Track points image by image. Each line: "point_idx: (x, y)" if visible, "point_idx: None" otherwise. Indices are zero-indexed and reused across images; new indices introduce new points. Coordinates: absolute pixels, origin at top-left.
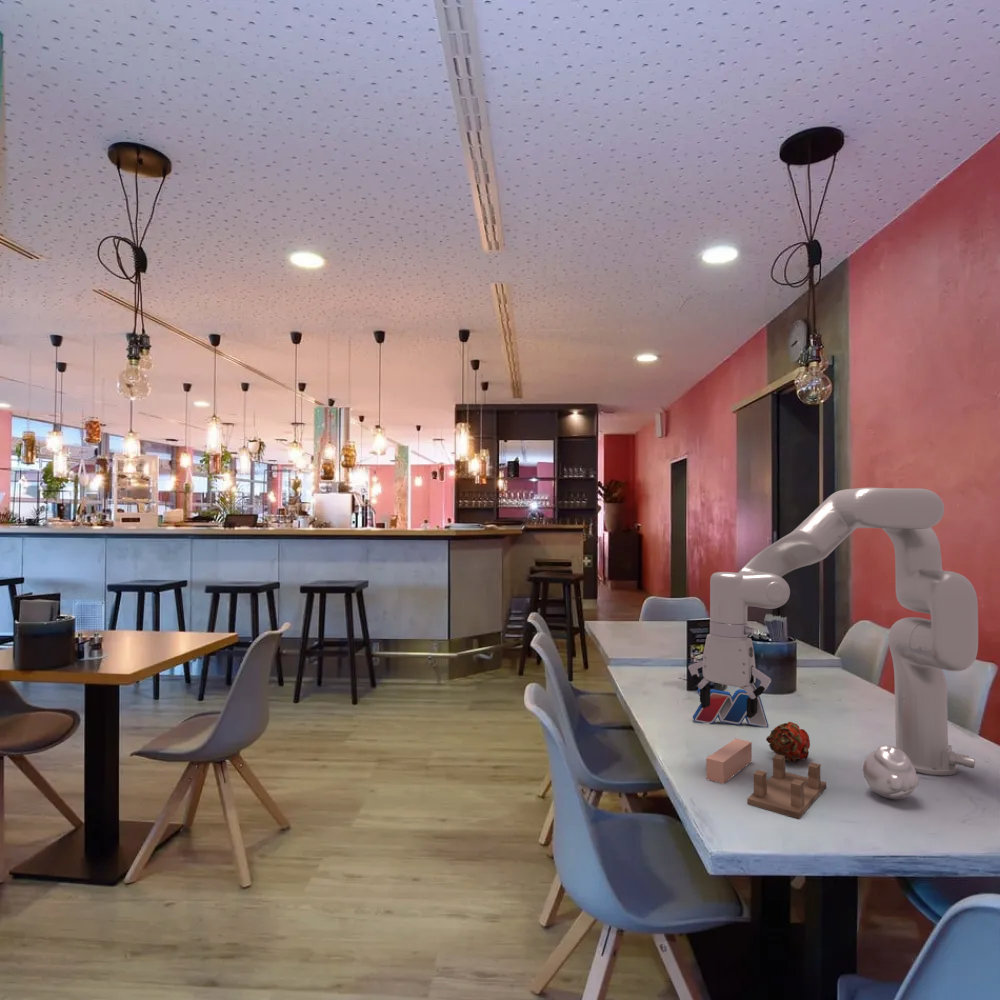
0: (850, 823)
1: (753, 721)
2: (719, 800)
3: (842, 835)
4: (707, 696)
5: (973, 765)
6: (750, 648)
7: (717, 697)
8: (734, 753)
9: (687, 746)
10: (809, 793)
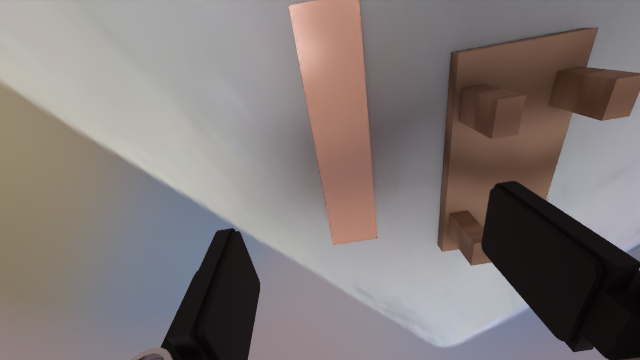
0: (615, 182)
1: None
2: (394, 264)
3: (594, 229)
4: (237, 312)
5: None
6: None
7: None
8: (369, 165)
9: (129, 52)
10: (551, 143)
